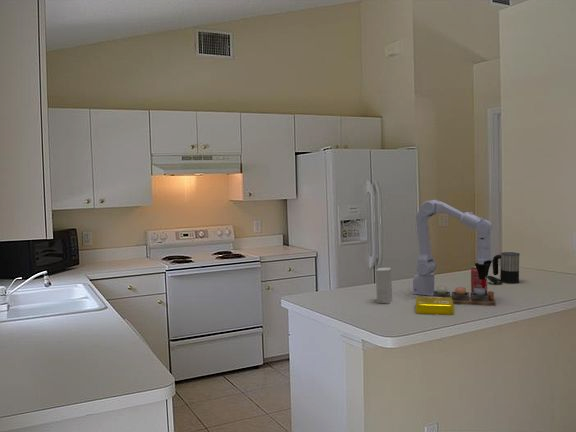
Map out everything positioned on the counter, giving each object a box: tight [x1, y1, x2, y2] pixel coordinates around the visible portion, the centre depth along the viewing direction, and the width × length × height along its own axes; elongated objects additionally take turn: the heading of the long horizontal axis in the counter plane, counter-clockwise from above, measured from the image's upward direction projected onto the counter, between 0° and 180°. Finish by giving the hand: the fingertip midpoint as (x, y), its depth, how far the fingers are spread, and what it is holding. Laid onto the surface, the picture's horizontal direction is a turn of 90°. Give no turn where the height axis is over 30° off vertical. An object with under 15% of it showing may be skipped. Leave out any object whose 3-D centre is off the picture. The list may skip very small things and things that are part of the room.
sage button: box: [435, 285, 448, 294], centre depth 250 cm, size 4×4×3 cm
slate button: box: [474, 288, 485, 296], centre depth 245 cm, size 4×4×3 cm
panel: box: [427, 290, 496, 307], centre depth 248 cm, size 28×10×5 cm, turn 74°
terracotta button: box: [454, 286, 467, 295], centre depth 248 cm, size 4×4×3 cm
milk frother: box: [487, 251, 521, 285], centre depth 285 cm, size 14×16×15 cm
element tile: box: [415, 295, 455, 316], centre depth 235 cm, size 15×15×5 cm
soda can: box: [470, 265, 488, 293], centre depth 261 cm, size 7×7×13 cm
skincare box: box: [375, 267, 393, 305], centre depth 251 cm, size 8×6×15 cm
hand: (483, 278), depth 249 cm, fingers open, 7 cm apart
